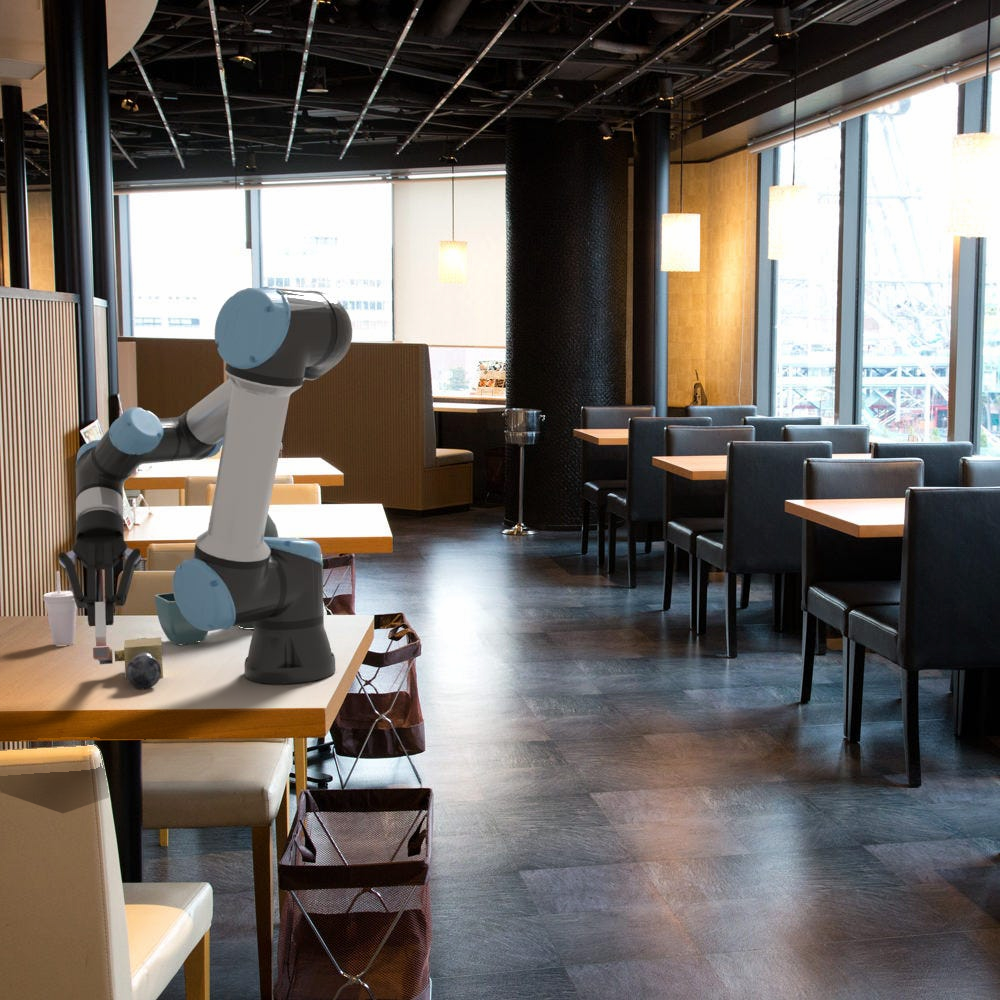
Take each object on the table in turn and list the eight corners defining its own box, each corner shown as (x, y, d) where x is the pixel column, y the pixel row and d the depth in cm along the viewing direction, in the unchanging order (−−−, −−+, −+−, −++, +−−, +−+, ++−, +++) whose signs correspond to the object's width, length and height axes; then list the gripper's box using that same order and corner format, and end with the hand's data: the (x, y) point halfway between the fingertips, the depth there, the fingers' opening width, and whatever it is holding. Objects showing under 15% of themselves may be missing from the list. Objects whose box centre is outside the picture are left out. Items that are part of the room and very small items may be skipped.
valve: (116, 670, 205) (114, 639, 205) (162, 667, 208) (161, 636, 207) (114, 691, 192) (112, 658, 191) (163, 687, 194) (162, 654, 194)
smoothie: (38, 646, 224) (34, 573, 223) (61, 639, 230) (57, 567, 229) (66, 649, 222) (62, 574, 221) (88, 641, 228) (85, 568, 227)
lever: (98, 650, 202) (92, 645, 184) (113, 649, 202) (108, 643, 184) (99, 664, 202) (93, 660, 183) (113, 663, 202) (109, 659, 184)
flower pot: (170, 649, 221) (168, 601, 220) (155, 640, 228) (153, 594, 227) (216, 643, 226) (214, 596, 225) (200, 634, 233) (198, 589, 232)
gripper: (141, 533, 204) (145, 651, 190) (60, 537, 200) (58, 657, 186) (139, 505, 198) (144, 625, 184) (56, 509, 195) (53, 631, 181)
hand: (100, 641), depth 185 cm, fingers closed
